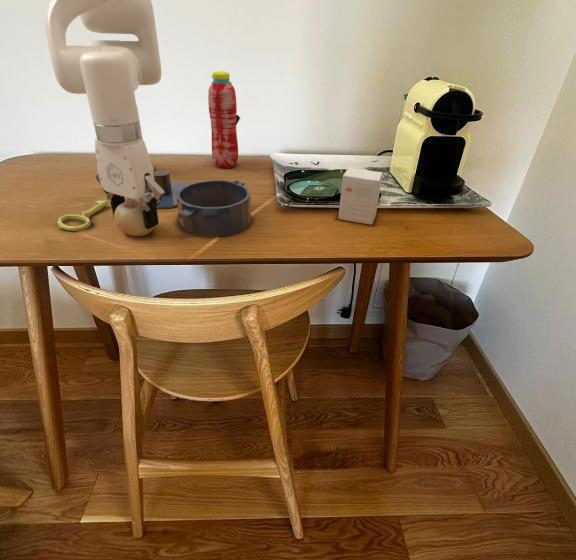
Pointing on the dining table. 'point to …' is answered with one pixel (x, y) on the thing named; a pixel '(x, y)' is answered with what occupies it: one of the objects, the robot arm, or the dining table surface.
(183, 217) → the pot
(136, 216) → the fruit
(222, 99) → the water bottle
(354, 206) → the small box
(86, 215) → the key
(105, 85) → the robot arm
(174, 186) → the lid
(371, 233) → the dining table surface
